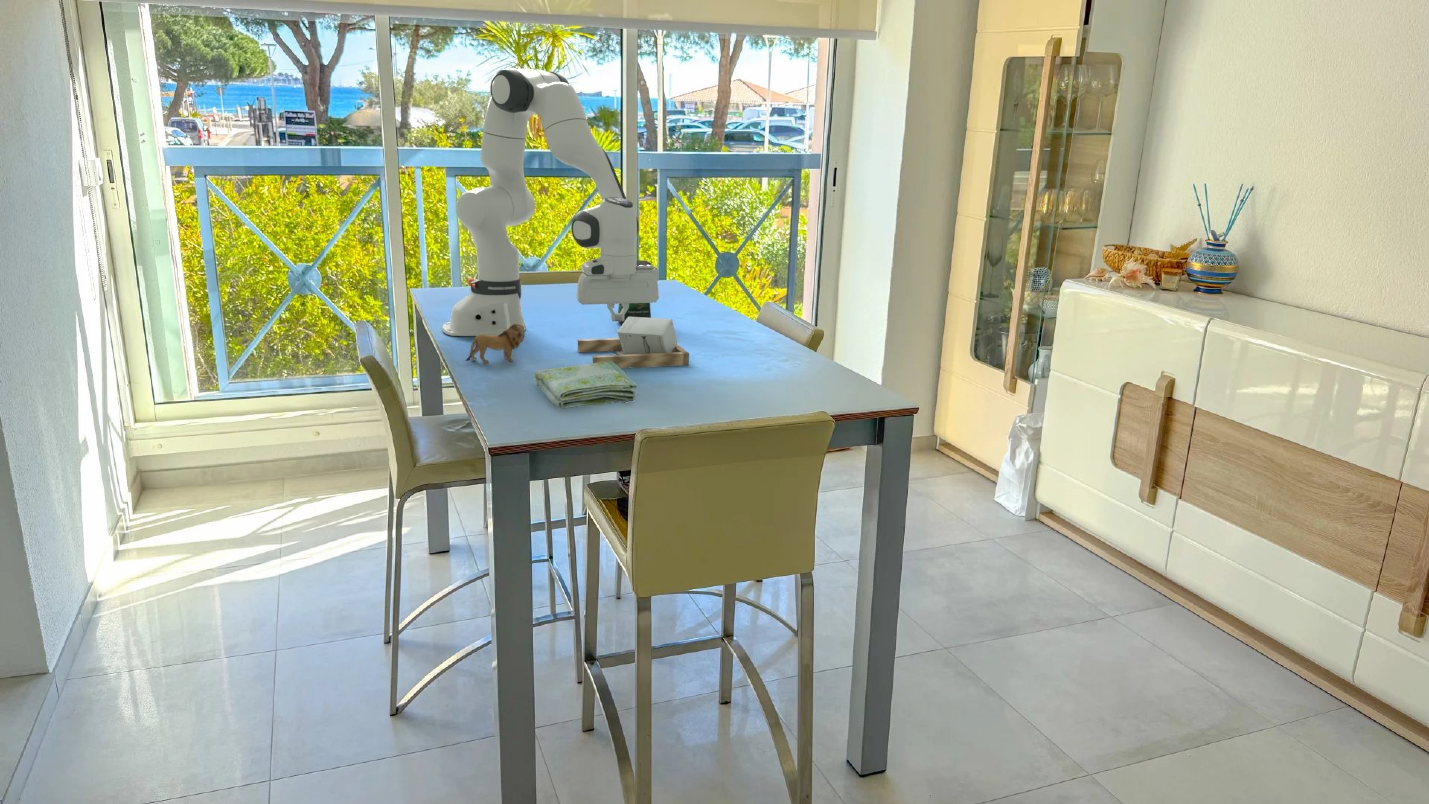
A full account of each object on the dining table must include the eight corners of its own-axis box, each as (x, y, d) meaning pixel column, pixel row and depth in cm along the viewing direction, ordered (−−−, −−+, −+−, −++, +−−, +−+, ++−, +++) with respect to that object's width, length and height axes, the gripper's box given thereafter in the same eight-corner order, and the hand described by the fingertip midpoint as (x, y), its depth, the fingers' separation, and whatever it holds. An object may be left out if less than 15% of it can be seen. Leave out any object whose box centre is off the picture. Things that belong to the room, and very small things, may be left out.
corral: (594, 369, 236) (594, 357, 235) (577, 350, 253) (577, 339, 252) (688, 364, 244) (689, 353, 243) (666, 347, 261) (667, 336, 260)
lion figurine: (521, 356, 246) (521, 320, 243) (528, 361, 241) (527, 325, 239) (463, 360, 239) (461, 324, 237) (468, 365, 235) (467, 329, 232)
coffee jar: (621, 327, 282) (622, 262, 277) (615, 321, 289) (615, 258, 284) (654, 326, 285) (655, 262, 280) (646, 320, 292) (648, 258, 287)
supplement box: (616, 332, 245) (662, 334, 240) (627, 315, 250) (673, 317, 246) (622, 356, 249) (668, 359, 245) (634, 339, 255) (678, 342, 250)
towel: (557, 411, 204) (557, 388, 203) (534, 384, 223) (533, 363, 222) (640, 404, 211) (640, 382, 210) (611, 379, 230) (611, 358, 229)
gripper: (655, 262, 246) (654, 316, 250) (575, 264, 240) (575, 319, 244) (662, 266, 241) (661, 322, 245) (580, 268, 234) (580, 325, 238)
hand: (617, 320), depth 244 cm, fingers closed
